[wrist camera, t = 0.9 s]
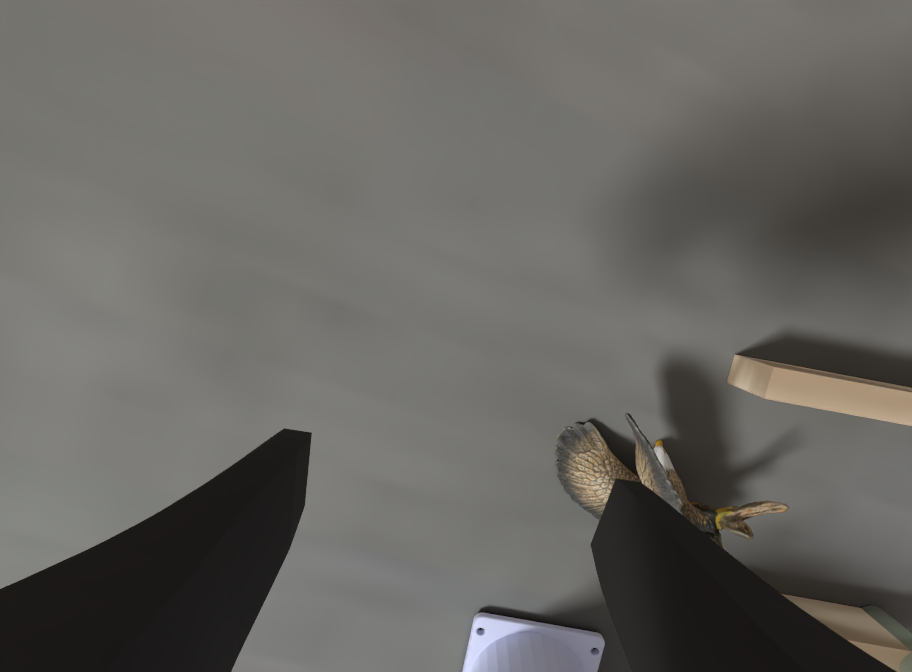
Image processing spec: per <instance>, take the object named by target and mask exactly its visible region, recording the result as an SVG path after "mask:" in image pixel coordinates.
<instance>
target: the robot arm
mask: <svg viewBox="0 0 912 672" xmlns="http://www.w3.org/2000/svg"><path fill="white" fill-rule="evenodd" d="M311 434H312V433H310V432H303V431H297V430H290V429H283V430H281V431H280V432H278V433H277V434H276V435H274V436H273V437H271V438H270V439H268V440H267V441H266V442H264V443H263V444H261V445H260V446H259V447H257V448H256V449H255V450H253V451H252V452H250V453H249V454H248V455H246V456H245V457H243V458H242V459H241V460H239V461H238V462H236V463H235V464H233V465H232V466H230V467H229V468H228V469H226V470H225V471H223V472H222V473H220V474H219V475H217V476H216V477H214V478H213V479H211V480H210V481H208V482H207V483H205V484H204V485H202V486H201V487H199V488H198V489H196V490H194V491H193V492H191V493H189V494H188V495H186V496H185V497H183V498H181V499H180V500H178V501H177V502H175V503H173V504H172V505H170V506H168V507H167V508H165V509H164V510H162V511H160V512H158V513H157V514H155V515H153V516H151V517H149V518H148V519H146V520H144V521H142V522H140V523H139V524H137V525H135V526H133V527H131V528H129V529H127V530H125V531H123V532H121V533H120V534H118V535H116V536H114V537H112V538H110V539H108V540H106V541H104V542H102V543H100V544H98V545H96V546H94V547H92V548H90V549H88V550H86V551H84V552H81V553H79V554H77V555H75V556H73V557H70V558H68V559H66V560H64V561H62V562H60V563H57V564H55V565H53V566H51V567H49V568H46V569H44V570H42V571H40V572H38V573H35V574H33V575H31V576H29V577H27V578H25V579H22V580H20V581H18V582H16V583H13V584H11V585H9V586H6V587H4V588H2V589H0V672H231V670H232V668H233V666H234V664H235V661H236V659H237V657H238V655H239V653H240V651H241V649H242V647H243V644H244V642H245V640H246V638H247V636H248V634H249V632H250V630H251V628H252V626H253V624H254V622H255V620H256V618H257V616H258V614H259V611H260V609H261V607H262V605H263V603H264V601H265V599H266V597H267V595H268V593H269V591H270V589H271V587H272V585H273V583H274V580H275V578H276V576H277V574H278V572H279V570H280V568H281V566H282V564H283V562H284V560H285V557H286V555H287V553H288V551H289V549H290V546H291V543H292V541H293V538H294V535H295V532H296V529H297V527H298V524H299V521H300V518H301V515H302V512H303V509H304V506H305V497H306V486H307V476H308V465H309V455H310V444H311ZM591 548H592V552H593V557H594V561H595V566H596V570H597V574H598V578H599V582H600V585H601V589H602V592H603V595H604V597H605V600H606V603H607V606H608V608H609V611H610V614H611V616H612V619H613V622H614V624H615V627H616V630H617V632H618V635H619V638H620V640H621V643H622V645H623V648H624V651H625V653H626V656H627V658H628V661H629V664H630V666H631V669H632V672H897V671H895V670H893V669H892V668H890V667H888V666H887V665H885V664H884V663H882V662H880V661H879V660H877V659H876V658H874V657H872V656H871V655H869V654H868V653H866V652H865V651H863V650H862V649H860V648H858V647H857V646H855V645H854V644H852V643H851V642H849V641H848V640H846V639H845V638H843V637H842V636H840V635H839V634H837V633H836V632H834V631H833V630H832V629H830V628H829V627H827V626H826V625H824V624H823V623H821V622H820V621H818V620H817V619H816V618H814V617H813V616H811V615H810V614H808V613H807V612H805V611H804V610H802V609H801V608H800V607H798V606H797V605H796V604H794V603H793V602H791V601H790V600H789V599H787V598H786V597H784V596H783V595H782V594H780V593H779V592H778V591H776V590H775V589H774V588H773V587H771V586H770V585H769V584H767V583H766V582H765V581H763V580H762V579H761V578H759V577H758V576H757V575H756V574H754V573H753V572H752V571H750V570H749V569H748V568H746V567H745V566H744V565H743V564H741V563H740V562H739V561H738V560H736V559H735V558H734V557H733V556H731V555H730V554H729V553H728V552H726V551H725V550H724V549H723V548H722V547H720V546H719V545H718V544H717V543H715V542H714V541H713V540H712V539H711V538H709V537H708V536H707V535H706V534H705V533H703V532H702V531H701V530H700V529H699V528H697V527H696V526H695V525H694V524H693V523H691V522H690V521H689V520H688V519H687V518H685V517H684V516H683V515H682V514H681V513H679V512H678V511H677V510H676V509H674V508H673V507H672V506H671V505H670V504H668V503H667V502H666V501H665V500H663V499H662V498H661V497H660V496H658V495H657V494H656V493H655V492H653V491H652V490H651V489H649V488H648V487H647V486H645V485H644V484H642V483H641V482H637V481H631V480H624V479H617V478H616V479H615V482H614V485H613V487H612V490H611V492H610V495H609V498H608V500H607V503H606V505H605V508H604V511H603V513H602V516H601V519H600V521H599V524H598V526H597V529H596V532H595V534H594V537H593V540H592V542H591ZM478 628H483V630H478ZM604 646H605V642H604V639H603V637H602V635H601V634H600V633H597V632H591V631H586V630H580V629H574V628H569V627H563V626H557V625H552V624H546V623H540V622H534V621H529V620H523V619H517V618H512V617H506V616H500V615H495V614H489V613H478V614H476V615H475V617H474V620H473V625H472V629H471V634H470V639H469V643H468V648H467V652H466V657H465V662H464V666H463V671H462V672H597V671H598V668H599V664H600V660H601V657H602V653H603V649H604ZM593 648H596V649H594V650H591V649H593Z"/></svg>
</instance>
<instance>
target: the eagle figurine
mask: <svg viewBox="0 0 912 672" xmlns="http://www.w3.org/2000/svg"><path fill="white" fill-rule="evenodd" d="M625 416H626V418H627V420H628V422H629V424H630V426H631V427H632V430H633V434H634V437H635V441H636V451H635V453H636V468H637V472H638V474H639V477H638V476H636V475H635V474H633V473H632V472H631V471H630V470H629V469H628V468H627V467H626V466H625V465H624V464H623V463H622V462H621V461H620V460H618V459H617V458H616V457H615V456H614V454H613V453H612V452H611V451H610V449H609V447H608V445H607V444H606V442H605V440H604V439H603V437H602V436H601V435H600V433H599V431H598V430H597V428H596V427H595V426H594V425H593V424H592V423H591V422H587V423H585V425H582V424H579V423H576V424H575V425H574V426H573V428H570V427H565V428H564V429H563V433H562V434H559V435H558V436H557V442H558V446H556V447H555V449H554V450H555V454H556V456H557V458H558V459H559V461H556V462H555V466H556V467H557V469H558V470H559V471H558V472H557V477H558V478H559V480H560V482H561V484H562V485H563V486H564V489H565V491H566V493H568V494H569V495H570V496H571V499H572V500H573V501H575V502H577V503H579V505H580V506H581V507H582V508H583V509H584V510H586V511H587V512H590V513H592V515H593V516H594V517H596V518H597V519H598V520H599V521H600V519H601V516H602V513H603V511H604V508H605V505H606V503H607V500H608V498H609V495H610V492H611V490H612V487H613V485H614V482H615V479H616V478H617V479H624V480H631V481H637V482H641V483H642V484H644V485H645V486H647V487H648V488H649V489H651V490H652V491H653V492H655V493H656V494H657V495H658V496H660V497H661V498H662V499H663V500H665V501H666V502H667V503H668V504H670V505H671V506H672V507H673V508H674V509H676V510H677V511H678V512H679V513H681V514H682V515H683V516H684V517H685V518H687V519H688V520H689V521H690V522H691V523H693V524H694V525H695V526H696V527H697V528H699V529H700V530H701V531H702V532H703V533H705V534H706V535H707V536H708V537H709V538H711V539H712V540H713V541H714V542H715V543H717V544H718V545H719V546H720V547H722V542H721V534H720V533H719V530H722V529H723V528H724V529H726V530H728V531H730V532H732V533H734V534H736V535H738V536H740V537H743V538H745V539H748V540H750V539H752V538H753V533H752V530H751V529H750V527H749V526H748V525H747V524H746V523H745V522H743V521H744V520H745V519H748V518H751V517H753V516H756V515H760V514H765V513H781V512H785V511H787V510H788V509H789V507H788V505H786V504H783V503H777V502H771V501H764V502H754V503H749V504H746V505H743V506H741V507H723V508H712V507H710V506H708V505H703V504H701V503H699V502H689V501H688V499H687V497H686V492H685V490H684V487H683V484H682V482H681V480H680V478H679V476H678V475H677V473H676V471H675V469H674V467H673V465H672V463H671V461H670V458H669V456H668V454H667V453H666V451H665V450H664V448H663V446H662V443H663V442H662V441H661V440H658V441H657V442H656V445H655V447H654V449H653V448H652V447H651V445H650V443H649V441H648V440H647V439H646V437H645V436H644V435H643V434H642V432H641V431H640V430H639V428H638V426H637V424H636V423H635V421H634V419H633V418H632V416H631V415H630V414H629V413H625ZM722 548H723V547H722Z"/></svg>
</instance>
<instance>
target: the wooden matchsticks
mask: <svg viewBox="0 0 912 672" xmlns="http://www.w3.org/2000/svg"><path fill="white" fill-rule="evenodd" d="M727 383H729V384H732V385H734V386H736V387H739V388H741V389H743V390H746V391H748V392H750V393H753V394H755V395H757V396H760V397H762V398H764V399H770V400H775V401H781V402H786V403H791V404H797V405H802V406H807V407H813V408H818V409H824V410H829V411H834V412H840V413H845V414H851V415H856V416H861V417H867V418H872V419H877V420H883V421H888V422H894V423H899V424H904V425H910V426H912V388H911V387H906V386H900V385H895V384H890V383H884V382H879V381H874V380H868V379H863V378H858V377H852V376H847V375H842V374H836V373H831V372H826V371H820V370H815V369H810V368H804V367H799V366H794V365H788V364H783V363H778V362H772V361H767V360H762V359H756V358H751V357H745V356H740V355H735V356H734V359H733V363H732V366H731V369H730V373H729V376H728V380H727ZM782 595H783V596H784V597H786V598H787V599H789V600H790V601H791V602H793V603H794V604H796V605H797V606H798V607H800V608H801V609H802V610H804V611H805V612H807V613H808V614H810V615H811V616H813V617H814V618H816V619H817V620H818V621H820V622H821V623H823V624H824V625H826V626H827V627H829V628H830V629H832V630H833V631H834V632H836V633H837V634H839V635H840V636H842V637H843V638H845V639H846V640H848V641H849V642H851V643H852V644H854V645H855V646H857V647H858V648H860V649H862V650H863V651H865V652H866V653H868V654H869V655H871V656H872V657H874V658H876V659H877V660H879V661H880V662H882V663H884V664H885V665H887V666H888V667H890V668H892V669H893V670H895V671H897V672H912V633H911V632H910V631H909V630H907V629H906V628H905V627H904V626H902V625H901V624H900V623H899V622H897V621H896V620H895V619H894V618H893V617H891V616H890V615H889V614H888V613H886V612H885V611H884V610H883V609H881V608H880V607H877V606H865V607H862V608H858V607H853V606H847V605H841V604H836V603H830V602H825V601H819V600H813V599H808V598H802V597H797V596H791V595H785V594H782Z"/></svg>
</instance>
